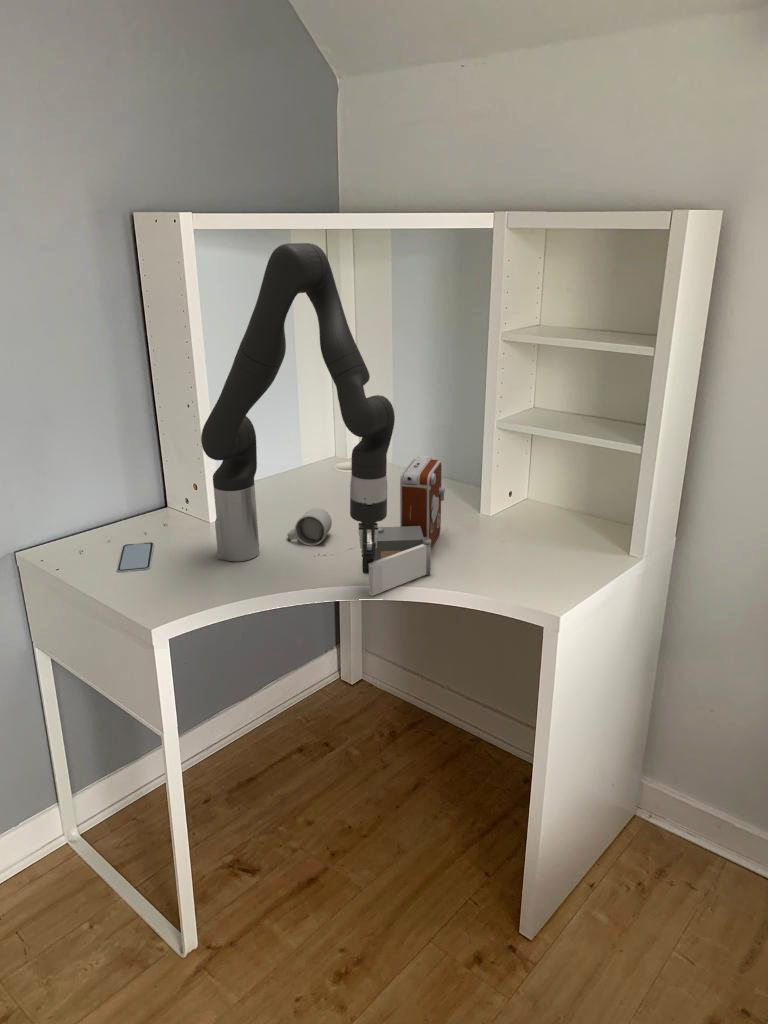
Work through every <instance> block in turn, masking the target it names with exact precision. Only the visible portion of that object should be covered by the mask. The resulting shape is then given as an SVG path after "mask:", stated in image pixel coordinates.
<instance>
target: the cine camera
mask: <svg viewBox="0 0 768 1024" xmlns="http://www.w3.org/2000/svg"><path fill="white" fill-rule="evenodd" d="M442 469H443V468H442V461H441V460H439V459H433V458H432V456H425V455H417V456H416V458H414V459H412V460H411V461H410V463H409V464H408V465H407V466H406V468H405V469H404V470H403V471H402V473H401V474H400V483H399V486H400V487H399V490H400V491H399V492H400V493H399V496H400V499H399V502H400V503H399V507H400V509H399V510H400V511H399V512H400V514H399V515H400V516H399V517H400V518H399V521H400V522H399V523H400V524H399V527H403V526H421V530H422V533H423V537H429V538H430V539H431V550H432V548H433V547H434V545H435V543H436V541H437V539H438V538H439V536H440V533H441V529H442V528H441V527H442V526H441V524H442V522H441V521H442V516H441V515H442V502H443V501H445V492H446V488H445V487H442Z"/></svg>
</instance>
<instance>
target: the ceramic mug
mask: <svg viewBox="0 0 768 1024" xmlns="http://www.w3.org/2000/svg"><path fill="white" fill-rule="evenodd" d="M332 523H333V522H332V517H331V515H330V513H329V512H328V511H326V510H325V509H323V508H321V507H320V508H319V507H316V508H312V509H309V510H308V511H306V512H305V513H304V515H302V516H301V517H299V518H298V520H297V521H296V524H295V526H294V528H293V529H291V530H290V531H288V532H287V534H286V535H287V537H288V539H289V541H291V540H296V539H298V541H299V542H301V544H303V545H306V546H310V547H311V546H317V545H319V544H321V543H322V542H323V541H324V540H325V538H326V536H328V533H330V531H331V529H332Z"/></svg>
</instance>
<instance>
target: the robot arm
mask: <svg viewBox="0 0 768 1024" xmlns="http://www.w3.org/2000/svg"><path fill="white" fill-rule="evenodd" d="M304 293H305V294H306V296H307V298H308V299H309V301H310V303H311V304H312V306H313V307H314V308H313V309H314V311H315V314H316V316H317V322H318V329H319V333H318V334H319V347H320V351H321V355H322V358H323V359H322V360H323V361H324V364H325V366H326V369H327V370H328V373H329V375H330V376H331V380H333V383H334V385H335V388H336V392H337V399H338V404H339V409H340V414H341V417H342V418H341V419H342V421H343V423H344V425H345V427H346V428H347V430H348V431H349V432H350V433H351V434H353V435H354V436H356V437H358V438H361V440H360V441H359V443H358V444H356V445H355V446H354V447H353V449H352V450H351V464H350V465H351V470H350V471H351V474H350V475H351V477H350V483H349V484H350V485H349V515H350V517H351V518H352V520H354V521H356V522H358V536H359V548H360V552H361V558H362V559H361V560H362V567H361V569H362V573H363V574H364V575H366V574H367V575H369V563H371V562H373V559H374V558H375V549H376V548H377V536H378V527H379V526H378V524H379V523H378V522H382V521H383V520H385V519H386V518H387V516H388V480H387V479H388V478H387V467H388V466H387V458H388V457H387V456H388V450H389V447H390V444H391V439H392V437H393V432H394V428H395V420H396V418H395V417H396V416H395V410H394V407H393V403H392V402H391V401H390V400H389V398H387V397H386V396H384V395H379V394H377V395H372V396H368V397H366V392H365V389H364V386H365V385H366V384H367V383H368V382H369V381H370V378H371V377H370V372H369V369H368V368H367V365H366V363H365V361H364V358H363V356H362V354H361V352H360V349H359V348H358V346H357V343H356V341H355V339H354V337H353V334H352V332H351V329H350V326H349V323H348V320H347V317H346V315H345V312H344V308H343V304H342V301H341V298H340V297H341V296H340V294H339V291H338V288H337V284H336V280H335V278H334V273H333V270H332V267H331V265H330V262H329V259H328V257H327V255H326V253H325V252H324V250H323V249H322V248H321V247H320V246H319V245H317V244H314V243H310V242H308V243H307V242H306V243H305V242H303V243H302V242H300V243H299V242H297V243H296V242H295V243H293V242H292V243H288V242H287V243H282V244H279V246H277V247H275V249H274V250H273V251H272V253H271V255H270V256H269V258H268V261H267V264H266V268H265V270H264V274H263V278H262V282H261V286H260V289H259V292H258V297H257V300H256V303H255V306H254V309H253V311H252V314H251V316H250V319H249V322H248V324H247V328H246V330H245V333H244V335H243V337H242V339H241V341H240V344H239V346H238V349H237V351H236V354H235V357H234V360H233V362H232V365H231V368H230V371H229V372H228V376H227V378H226V380H225V382H224V384H223V387H222V390H221V393H220V395H219V397H218V398H217V401H216V403H215V405H214V407H213V409H212V410H211V412H210V414H209V416H208V417H207V419H206V421H205V423H204V425H203V428H202V430H201V437H200V442H201V447H202V449H203V451H204V453H205V455H206V456H207V457H208V458H209V459H211V460H213V461H214V460H215V461H222V462H221V464H220V465H219V467H218V468H217V469H216V470H215V471H214V472H213V475H212V485H213V496H214V504H215V505H214V507H215V517H216V518H215V521H214V527H215V528H214V529H215V538H216V547H217V558H218V560H224V561H228V562H245V561H248V560H252V559H254V558H256V557H258V555H259V554H260V540H259V527H258V525H259V524H258V513H257V498H256V488H255V487H256V486H255V484H256V483H255V476H256V473H257V468H258V463H257V462H258V460H257V458H258V457H257V448H258V447H257V435H256V434H257V433H256V430H255V427H254V424H253V423H252V421H251V419H250V417H248V416H247V414H248V413H249V411H250V410H251V409H252V408H253V407H254V405H256V403H257V402H258V401H259V400H260V398H261V397H263V396H264V394H265V393H266V392H267V391H268V389H269V388H270V387H271V386H272V384H274V381H275V379H276V377H277V375H278V373H279V371H280V368H281V366H282V364H283V361H284V359H285V356H286V351H287V350H286V349H287V342H286V333H285V322H286V319H287V315H288V313H289V311H290V309H291V306H292V304H293V302H294V300H295V299H296V297H297V295H298V294H304Z"/></svg>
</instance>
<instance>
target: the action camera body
mask: <svg viewBox="0 0 768 1024" xmlns="http://www.w3.org/2000/svg"><path fill="white" fill-rule="evenodd" d="M421 544H431V539H430V538H429V537H423V533H422V530H421V526H403V527H400V526H378V536H377V548H376V549H375V558H374V559H373V562H374V561H377V560H380V559H383V558H385V557H388V556H391V555H394V554H396V553H399V552H402V551H405V550H408V549H410V548H413V547H416V546H419V545H421Z"/></svg>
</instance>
